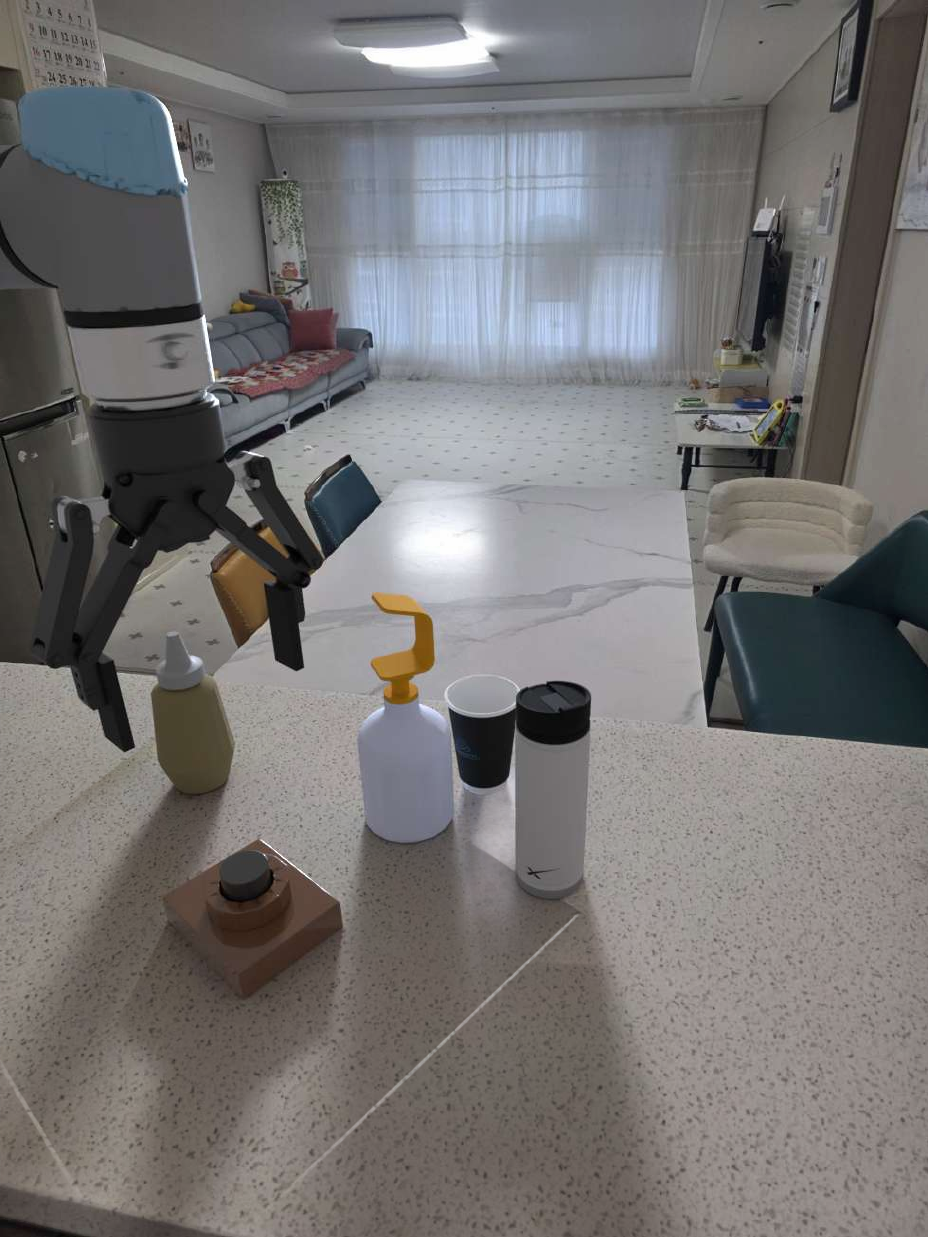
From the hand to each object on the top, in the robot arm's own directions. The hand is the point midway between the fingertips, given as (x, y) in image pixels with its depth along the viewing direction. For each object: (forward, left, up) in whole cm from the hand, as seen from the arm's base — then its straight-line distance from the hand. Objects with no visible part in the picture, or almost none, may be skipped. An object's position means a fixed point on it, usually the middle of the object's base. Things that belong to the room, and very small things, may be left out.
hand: (211, 700), depth 58 cm
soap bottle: (+4, +20, -25) cm, 32 cm away
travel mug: (+20, +17, -25) cm, 36 cm away
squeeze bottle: (-20, +17, -25) cm, 36 cm away
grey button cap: (-2, +2, -20) cm, 20 cm away
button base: (-2, +2, -24) cm, 25 cm away
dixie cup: (+9, +28, -25) cm, 38 cm away
